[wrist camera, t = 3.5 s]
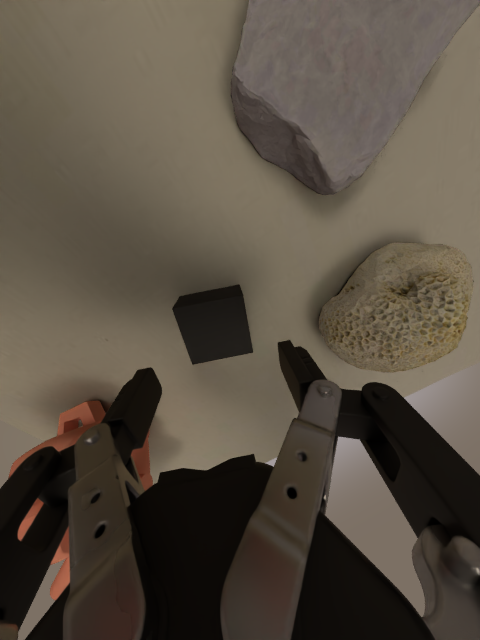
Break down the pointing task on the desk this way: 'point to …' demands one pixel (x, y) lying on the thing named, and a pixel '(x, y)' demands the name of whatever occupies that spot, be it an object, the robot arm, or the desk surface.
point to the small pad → (213, 324)
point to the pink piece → (65, 438)
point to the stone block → (334, 78)
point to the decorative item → (400, 308)
